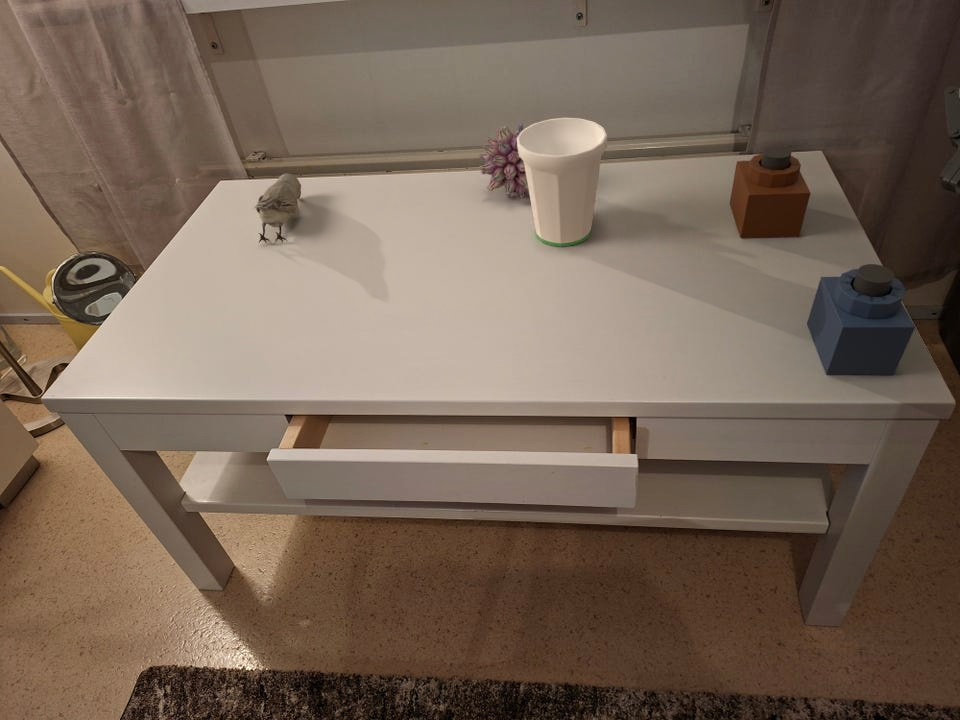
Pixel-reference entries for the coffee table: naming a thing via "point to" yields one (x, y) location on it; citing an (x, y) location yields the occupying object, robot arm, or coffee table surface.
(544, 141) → the cup
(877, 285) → the dark grey round cap
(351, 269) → the coffee table surface
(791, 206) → the brown block with collar
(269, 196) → the decorative bird
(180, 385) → the coffee table surface
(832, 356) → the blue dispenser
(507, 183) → the flower
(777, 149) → the grey round disc
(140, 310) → the coffee table surface
